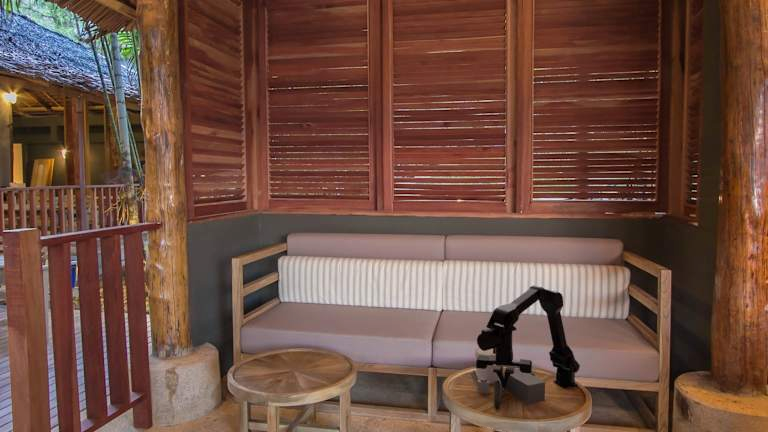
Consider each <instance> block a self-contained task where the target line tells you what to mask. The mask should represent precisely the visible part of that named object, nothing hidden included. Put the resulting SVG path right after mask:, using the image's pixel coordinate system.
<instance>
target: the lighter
mask: <svg viewBox="0 0 768 432" xmlns="http://www.w3.org/2000/svg"><path fill="white" fill-rule="evenodd" d="M469 372H470V373H469V374H470V376H471V378H472V380H473V382H474V383H477V393H480V394H486V395H488V394H490V384H489V381H487V379H485V378H481V380H478V378H477V375H476V370H475V369H472V370H470V371H469Z"/></svg>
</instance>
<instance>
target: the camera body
mask: <svg viewBox="0 0 768 432" xmlns="http://www.w3.org/2000/svg"><path fill="white" fill-rule="evenodd" d="M503 373H504V376H505V371H503ZM531 374H532V373H531ZM531 374H530V373H522V372H521V371H520V370H519V368H515V370H514V374H510V376H509V378H508V380H507V383H506V386H505V388H503V391H506V392H507V393H508V394H510V393H511V395H512V396H514V397H515V398H517V399H518V400H520V401H522V402H523V403H524V404H527V405H533V404H536V403H540V402H545V401H546V382H545V381H544V380H542V379H541V378H539V377H537V376H536V375H535V376H533V375H531Z"/></svg>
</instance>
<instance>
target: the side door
mask: <svg viewBox="0 0 768 432" xmlns="http://www.w3.org/2000/svg"><path fill="white" fill-rule="evenodd" d="M493 387H494V388H493V407H494V408H498V409H499V408H500V407H501V398H502V394H503V392H504V388H503V387H502V384H501V381H500V379H499V378H498V379H495V380H494V383H493Z"/></svg>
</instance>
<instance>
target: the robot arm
mask: <svg viewBox="0 0 768 432" xmlns="http://www.w3.org/2000/svg"><path fill="white" fill-rule="evenodd" d="M536 302H539V305H540V307H541V309H542V310H543V311H544V312H545V314H546V316H547V317H546V318H547V322H548V326H549V332H550V335H551V341H552V348H551V350H550V351H549V352H548V354H549V360H550V361H551V363H552V367H553V368H556V373H555V380H553V383H554V384H556V385H558V386H561V388H564V389H568V388H573V387H576V386H578V383H577V382H576V381H575V377H576V376H575V375H576V374H577V373H578V372H579V370H580V367H581V364H579V362H578V361H577V360H576V359H575V358H576V357H575V355H574V352H573V350H572V349H571V347H570V346H569V345H568V344H567V339H566V333H565V330H564V324H563V318H562V315H561V311H562V309H563V307H564V297H563V294H562V293H561V292H559V291H555V290H550V289H546V288H544V287H542V286H539V285H538V286H537V285H531V286H530V287H529V289H527V290H526V291H524V293H522V294H521V295H519V296H518V297H516V299H514V300H513V301H511V302H510V303H507V304H502V305H500V306H498V307H496V308H495V309H493V311H492V314H491V316H490V318H489V321H488V322H487V324H486V326H485V327H486V328H487V329H482V330H481V331H480V333H479V334H478V336H477V337H476V344H477V346H478V347H479V348H480V349H481V350H483V351H486V350H490V349H493V354H496V360H489V356H480V355H479V356H478V358H477V360H476V359H475V369H476V368H480V369H485V368H486V367H487V365H491V366H493V367H494V369H493V372H496V374H497V375H498V380H499V379H500V381H501V384H502V387H503V389H504V388H505V386H506V383H507V380H508V378H509V376H510V374H514V370H515V369H519V370H520V371H521V372H522V373H531V374H532V373H533V361H532V360H531V359H523V358H521V359H520V361H519V362H518V361H513V360H514V351H513V332H514V331H517V328H516V327H515V326H514V325H515V324H516V323H517V322H518V321H519V320H520V319H519V318H520V315H521V314H522V313H523V312H525V311H526V310H527V309H528V308H530V307H531V306H533V305H534V304H535V303H536ZM504 368H505V371H504ZM504 372H505V376H504Z"/></svg>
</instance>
